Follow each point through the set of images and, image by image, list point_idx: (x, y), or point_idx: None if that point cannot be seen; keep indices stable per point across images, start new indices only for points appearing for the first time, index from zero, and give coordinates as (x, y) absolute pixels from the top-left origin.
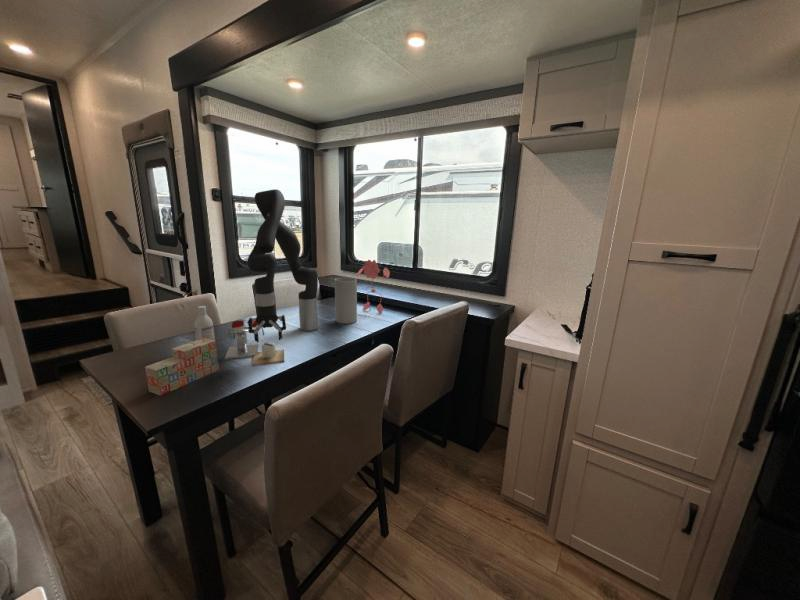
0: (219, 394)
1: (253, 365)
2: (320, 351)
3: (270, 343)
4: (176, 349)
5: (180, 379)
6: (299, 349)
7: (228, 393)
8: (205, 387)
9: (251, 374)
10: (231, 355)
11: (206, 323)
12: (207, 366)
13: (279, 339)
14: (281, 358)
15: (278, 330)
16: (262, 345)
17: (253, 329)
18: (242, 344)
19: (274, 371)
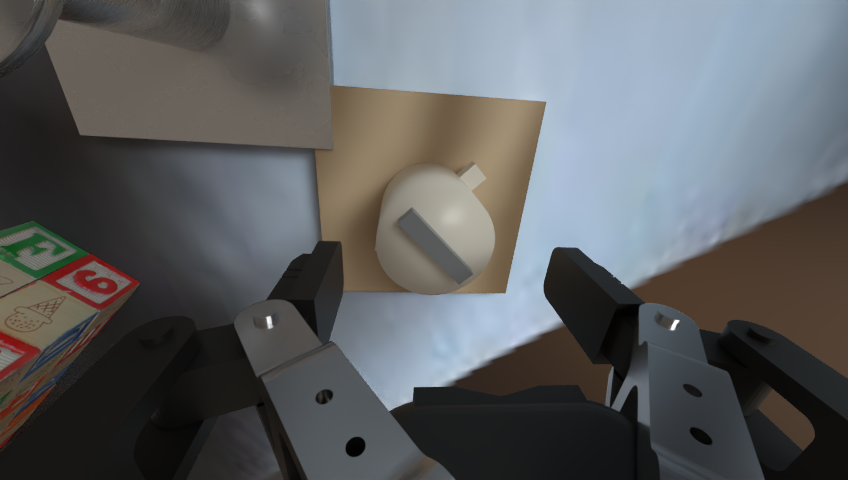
0: (248, 466)
1: None
2: (746, 197)
3: (456, 213)
4: None
5: (1, 434)
6: (652, 107)
7: (278, 466)
8: None
9: None
10: (118, 101)
11: None
12: (58, 360)
13: (552, 298)
14: (495, 265)
15: (613, 389)
16: (382, 243)
17: (214, 369)
18: (141, 34)
19: (440, 365)
